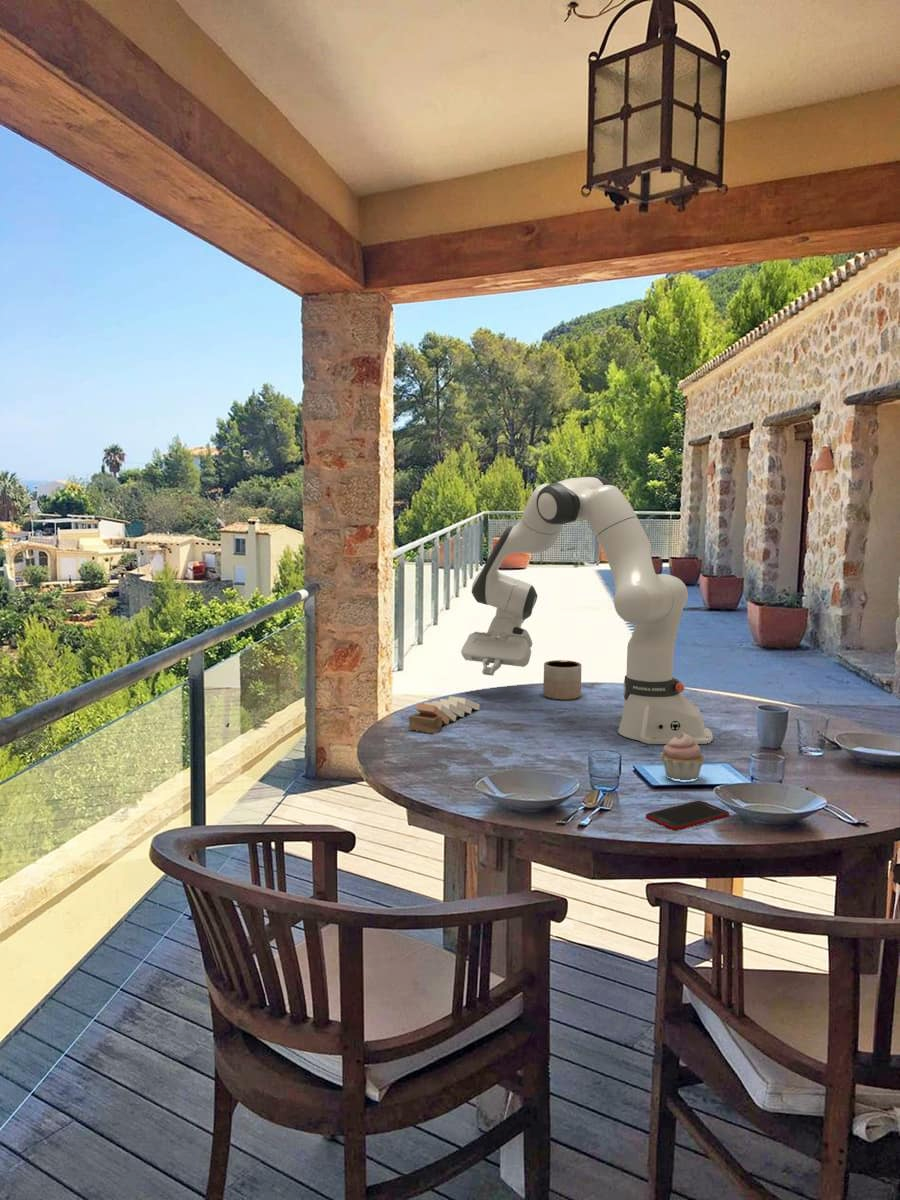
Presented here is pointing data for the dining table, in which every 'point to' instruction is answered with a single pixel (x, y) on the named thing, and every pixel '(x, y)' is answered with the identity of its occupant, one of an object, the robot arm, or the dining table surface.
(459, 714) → the domino
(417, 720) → the block
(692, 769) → the cupcake
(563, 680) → the planter
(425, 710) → the domino
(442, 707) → the domino
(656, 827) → the dining table surface
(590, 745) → the dining table surface
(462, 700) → the domino
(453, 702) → the domino
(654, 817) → the cell phone
